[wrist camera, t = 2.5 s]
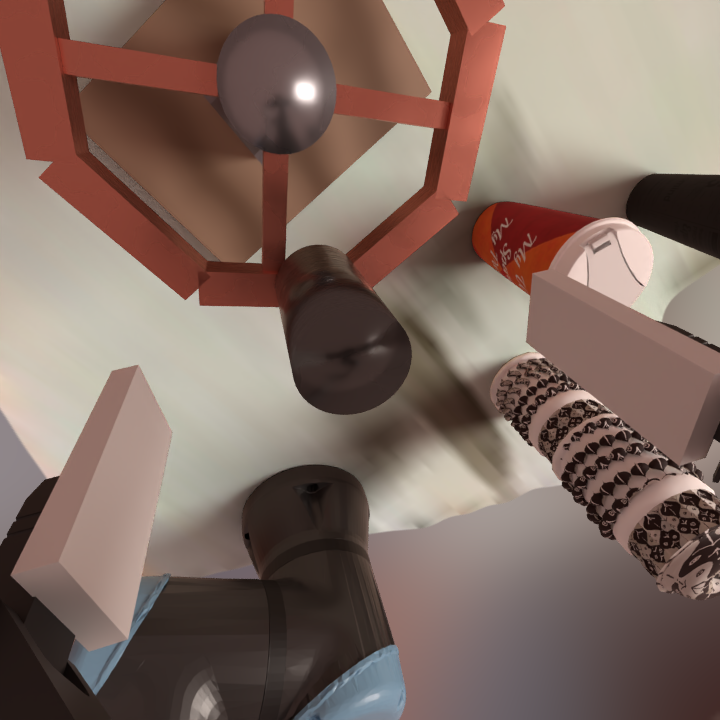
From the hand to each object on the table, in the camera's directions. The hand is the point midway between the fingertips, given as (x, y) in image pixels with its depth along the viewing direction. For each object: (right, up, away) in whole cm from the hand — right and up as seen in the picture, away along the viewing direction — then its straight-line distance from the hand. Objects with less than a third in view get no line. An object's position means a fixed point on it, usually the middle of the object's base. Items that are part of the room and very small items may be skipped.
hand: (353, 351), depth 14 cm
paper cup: (+13, +12, +26) cm, 31 cm away
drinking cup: (+29, +16, +28) cm, 43 cm away
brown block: (-7, +18, +16) cm, 25 cm away
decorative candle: (+19, -3, +36) cm, 41 cm away
